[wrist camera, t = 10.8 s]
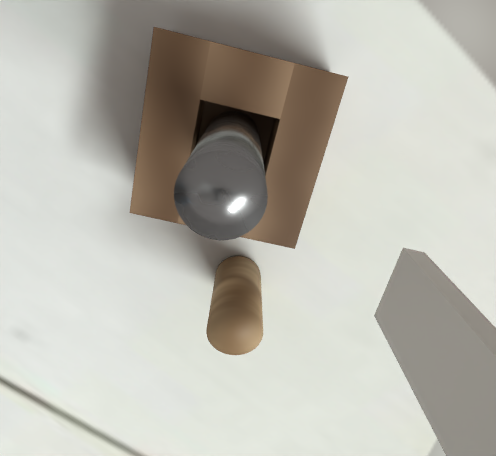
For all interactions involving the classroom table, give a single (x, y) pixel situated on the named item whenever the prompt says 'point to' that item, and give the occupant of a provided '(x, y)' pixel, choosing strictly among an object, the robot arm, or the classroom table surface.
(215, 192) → the metal pin
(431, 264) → the robot arm
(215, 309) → the oak dowel
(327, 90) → the socket block
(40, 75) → the classroom table surface
